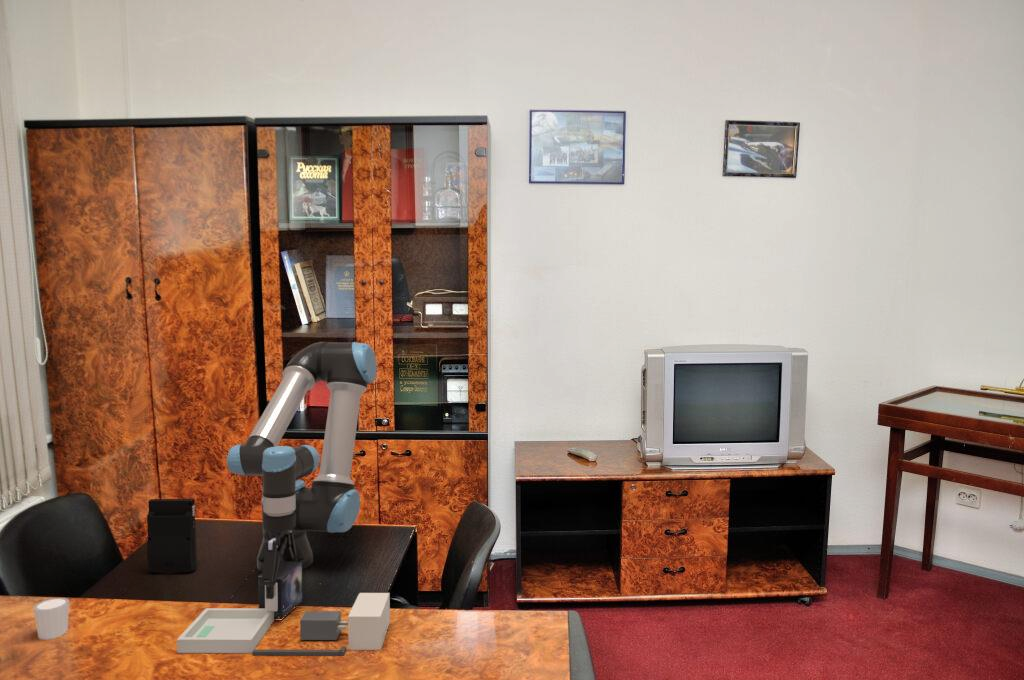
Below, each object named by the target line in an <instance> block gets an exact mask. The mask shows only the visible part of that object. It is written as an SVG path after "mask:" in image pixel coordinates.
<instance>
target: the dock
mask: <svg viewBox="0 0 1024 680" xmlns="http://www.w3.org/2000/svg"><path fill="white" fill-rule="evenodd" d="M273 620H274V611H265V608H259V607H258V608H256V607H255V608H254V607H252V608H251V607H250V608H249V607H248V608H246V607H244V608H242V607H241V608H238V607H236V608H235V607H234V608H233V607H231V608H228V607H227V608H226V607H225V608H224V607H223V608H222V607H219V608H218V607H215V608H214V607H213V608H212V607H211V608H210V607H205V608H204V610H202V612H200V614H199V615H198V616H197V617H196V619H194V620H193V622H192V623H191V624H190V625H189V626H188V627H187V628H186V629H185V630H184V631H183V632H182V633H181V634H180V635H179V637H178V638H177V639H176V653H177V654H252V652H253V650H256V648H257V646H258V645H259V644H260V642H261V641H262V639H263V638H264V637H265V635H266V633H267V632H268V631H269V629H270V628H271V626H272V625H273V623H274V622H273ZM274 621H275V620H274ZM272 622H273V623H272ZM271 624H272V625H271ZM270 625H271V626H270ZM269 627H270V628H269Z"/></svg>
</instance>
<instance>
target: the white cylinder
mask: <svg viewBox="0 0 1024 680" xmlns="http://www.w3.org/2000/svg"><path fill="white" fill-rule="evenodd" d="M69 608H70V600H69V598H65V597H55V598H50V599H49V598H48V599H45V600H43V601H40V602H38V603H37V604H35V605H34V606H33V612H34V620H35V625H36V631H37V637H38V639H39V640H43V641H45V640H46V641H48V640H53V639H57V637H58V638H60V637H62V636H61V635H63V634H64V633H66V634H67V632H68V628H69V627H68V626H69V610H70V609H69ZM66 631H67V632H66ZM64 635H65V634H64ZM64 635H63V636H64ZM59 636H60V637H59Z"/></svg>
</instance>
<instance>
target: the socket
mask: <svg viewBox="0 0 1024 680" xmlns="http://www.w3.org/2000/svg"><path fill="white" fill-rule="evenodd" d="M390 594H391V593H390V592H359V593H358V595H357V596H356V599H355V601H354V603H353V604H352V607H351V610H350V611H349V613H348V616H347V621H348V627H347V630H348V639H347V640H348V650H349V651H381V650H382V649H383V648H382V647H383V645H384V642H385V639H386V637H385V636H387V634H386V633H388V631H387V629H388V630H389V628H388V626H389V627H390V625H389V623H390V624H391V621H390V620H391V617H390V616H391V611H390V609H391V606H390V605H391V603H390V601H391V600H390V599H391V596H390Z"/></svg>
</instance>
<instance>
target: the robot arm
mask: <svg viewBox="0 0 1024 680" xmlns="http://www.w3.org/2000/svg"><path fill="white" fill-rule="evenodd" d="M377 369H378V367H377V358H376V355H375V352H374V349H373V348H372V347H371V345H370V344H368V343H366V342H365V343H364V342H356V341H353V342H351V341H349V342H346V341H345V342H344V341H343V342H338V341H336V342H333V341H329V342H328V341H319V342H313V343H312V344H310V345H308V346H306V347H304V348H303V349H301V350H300V351H299V352H298V353H297V354H295V355H294V356H293V357H292V358H291V359H290V360H289V362H288V363H287V364H286V366H285V368H284V369H283V371H282V380H281V382H280V383H279V385H278V387H277V388H276V389H275V392H274V393H273V395H272V397H271V398H270V401H269V402H268V404H267V405H266V407H265V409H264V411H263V413H262V414H261V416H260V417H259V419H258V421H257V423H256V424H255V426H254V427H253V430H252V431H251V433H250V434H249V437H248V438H247V439H246V441H245V443H244V444H242V443H241V444H236V445H233V446H232V447H230V449H229V450H228V453H227V457H226V465H227V468H228V470H229V472H230V473H232V474H235V475H242V476H257V477H261V476H262V493H261V499H260V502H261V516H262V517H261V519H262V522H261V523H262V541H261V545H260V547H259V550H258V553H257V557H256V568H257V570H258V571H260V572H261V574H262V580H261V582H260V584H261V585H265V611H277V610H278V586H277V583H276V578H277V573H278V568H279V563H280V560H282V561H290V562H299V563H302V570H305V569H307V568H308V567H310V566H311V565H312V564H313V563H314V554H313V550H312V548H311V545H310V542H309V540H308V536H307V531H310V532H311V531H313V532H324V533H330V534H333V533H345V532H348V531H349V530H350V529H351V528H352V527H353V526H354V524H355V522H356V520H357V518H358V515H359V512H360V507H361V499H360V498H361V495H360V493H359V491H358V490H356V489H355V482H354V481H353V480H352V478H351V473H352V464H353V459H354V452H355V451H354V450H355V443H356V436H357V429H358V428H357V427H358V419H359V413H360V406H361V405H360V404H361V398H362V395H363V394H364V393H365V392H366V391H367V390H368V385H369V384H372V383H373V382H374V381H376V377H377V374H378V373H377ZM318 382H326V387H327V389H328V390H329V391H330V394H329V395H330V396H329V403H328V409H327V417H326V423H325V431H324V437H323V438H324V439H323V444H322V446H323V447H322V452H321V457H320V454H319V452H318V451H317V449H316V448H315V447H313V446H312V445H309V444H303V445H298V446H296V447H292V446H288V445H279V443H280V442H281V440H282V438H283V436H284V435H285V433H286V431H287V428H288V427H289V425H290V424H291V422H292V420H293V418H294V416H295V415H296V412H297V410H298V409H299V407H300V405H301V403H302V402H303V400H304V398H305V395H306V394H307V392H308V391H311V390H312V389H313V388H315V384H316V383H318ZM278 445H279V446H278ZM318 467H319V473H318V475H317V476H316V477H315V478H313V480H312V482H311V487H306V486H307V484H306V481H304V480H302V479H303V478H305V477H307V476H309V475H311V474H312V473H313V472H314V471H316V470H317V469H318Z"/></svg>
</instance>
